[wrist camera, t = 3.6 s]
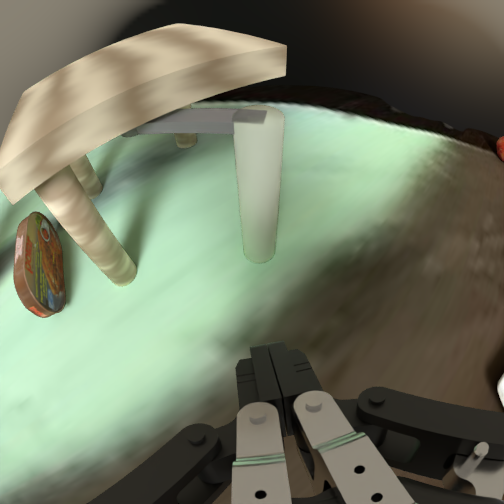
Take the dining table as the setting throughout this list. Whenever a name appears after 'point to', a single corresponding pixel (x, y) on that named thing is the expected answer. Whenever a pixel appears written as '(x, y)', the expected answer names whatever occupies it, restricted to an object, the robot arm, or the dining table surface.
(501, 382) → the square plate
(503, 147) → the pomegranate
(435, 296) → the dining table surface
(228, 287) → the dining table surface
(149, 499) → the robot arm
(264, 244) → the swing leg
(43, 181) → the stool
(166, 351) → the dining table surface
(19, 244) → the tin
